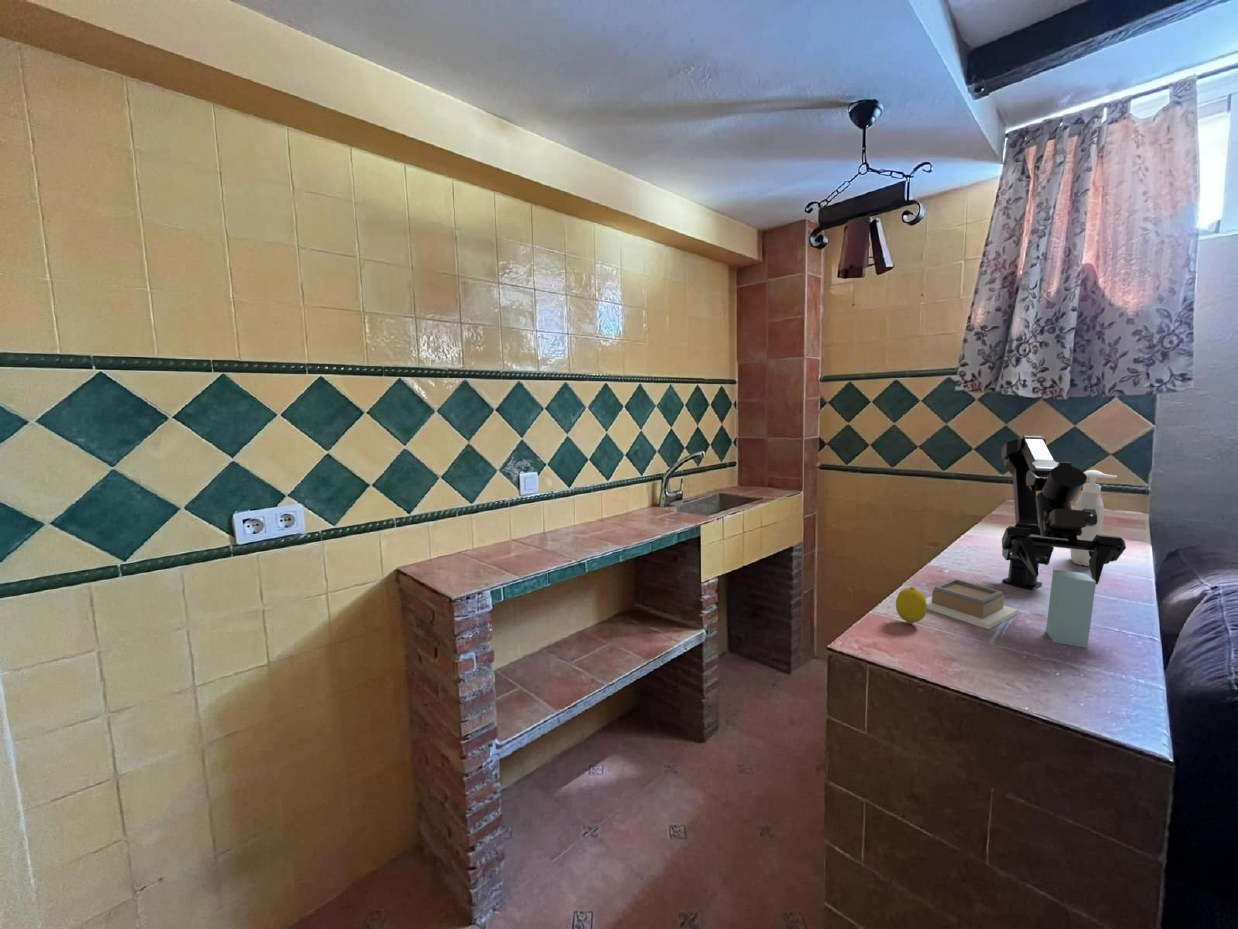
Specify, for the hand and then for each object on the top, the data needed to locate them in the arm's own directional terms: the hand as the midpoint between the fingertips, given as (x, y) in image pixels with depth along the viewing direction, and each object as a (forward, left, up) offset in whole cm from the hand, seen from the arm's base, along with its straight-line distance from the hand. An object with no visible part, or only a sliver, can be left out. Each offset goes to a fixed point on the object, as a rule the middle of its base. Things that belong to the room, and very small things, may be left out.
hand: (1065, 579), depth 100 cm
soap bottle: (-62, -12, -11) cm, 64 cm away
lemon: (+22, -18, -11) cm, 31 cm away
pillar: (+3, +2, -11) cm, 11 cm away
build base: (+4, -15, -11) cm, 19 cm away
